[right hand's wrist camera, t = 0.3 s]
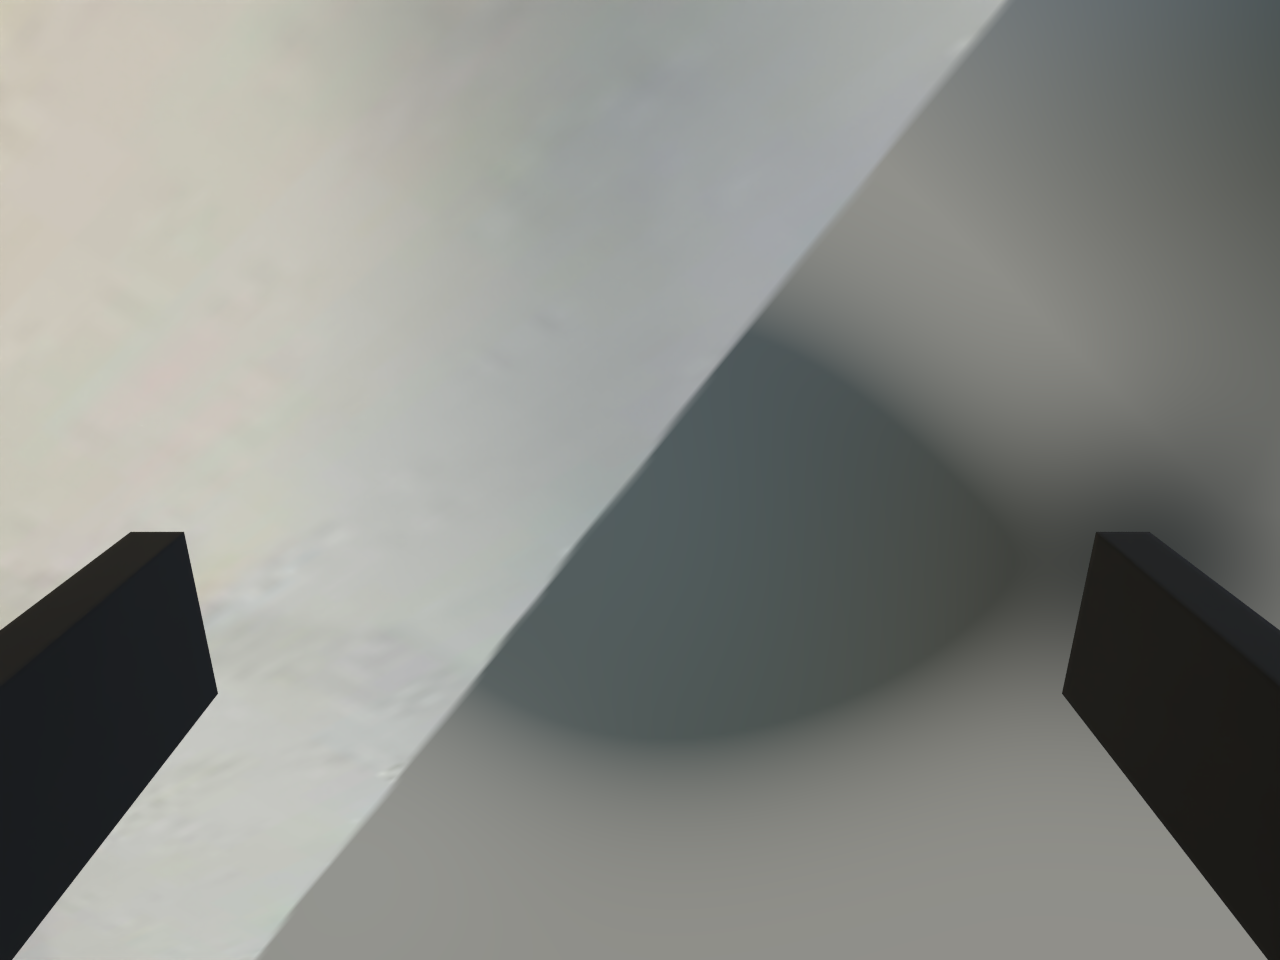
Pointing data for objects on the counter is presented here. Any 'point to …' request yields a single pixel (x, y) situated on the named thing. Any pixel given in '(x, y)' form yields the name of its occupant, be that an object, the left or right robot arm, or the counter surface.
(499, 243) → the counter surface
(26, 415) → the counter surface
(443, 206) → the counter surface
